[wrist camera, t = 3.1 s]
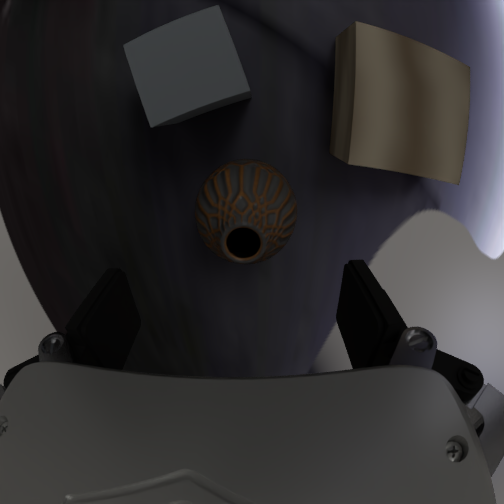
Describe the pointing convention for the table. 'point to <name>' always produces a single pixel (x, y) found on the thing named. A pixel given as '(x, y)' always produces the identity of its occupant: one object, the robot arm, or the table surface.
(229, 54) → the slate block
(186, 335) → the table surface
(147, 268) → the table surface
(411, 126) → the birch block
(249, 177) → the vase
